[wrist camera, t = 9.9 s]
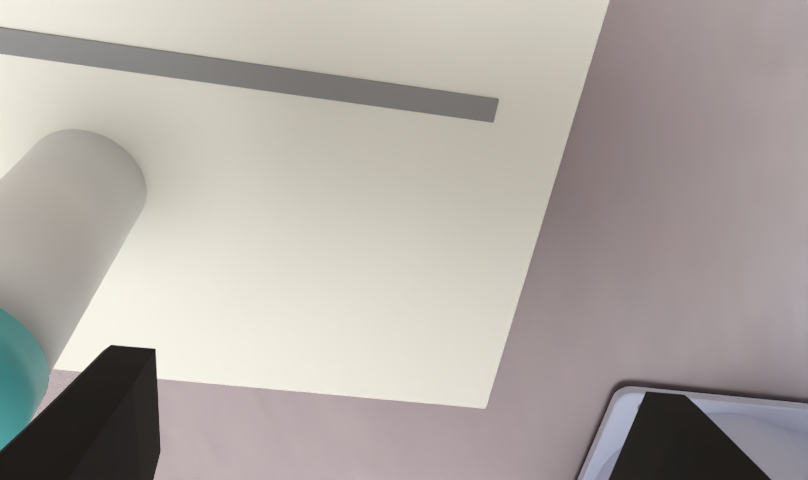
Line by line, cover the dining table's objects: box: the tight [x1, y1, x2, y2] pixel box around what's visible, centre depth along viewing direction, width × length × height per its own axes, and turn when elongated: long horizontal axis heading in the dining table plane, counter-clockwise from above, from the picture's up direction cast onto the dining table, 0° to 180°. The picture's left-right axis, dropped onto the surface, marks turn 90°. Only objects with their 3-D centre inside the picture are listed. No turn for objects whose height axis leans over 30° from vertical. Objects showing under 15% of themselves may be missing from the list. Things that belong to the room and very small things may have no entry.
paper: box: [0, 0, 610, 409], centre depth 19 cm, size 16×13×1 cm
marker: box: [0, 129, 146, 450], centre depth 15 cm, size 3×3×8 cm
